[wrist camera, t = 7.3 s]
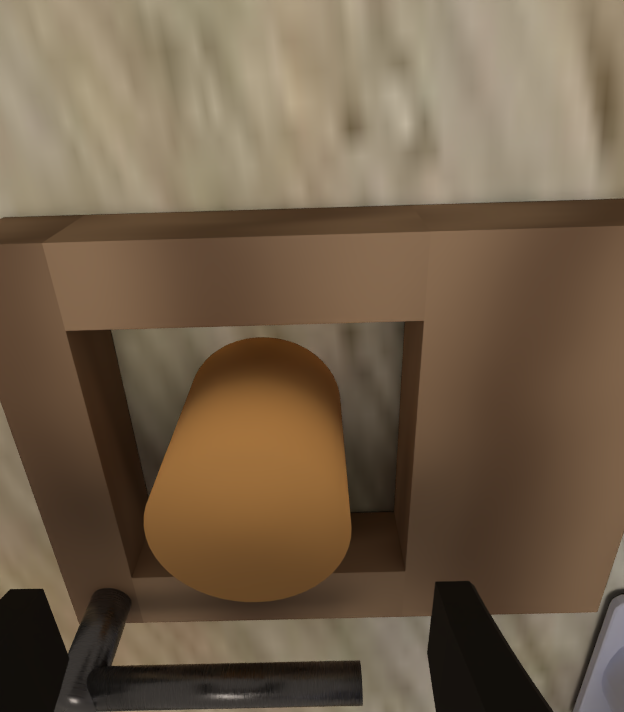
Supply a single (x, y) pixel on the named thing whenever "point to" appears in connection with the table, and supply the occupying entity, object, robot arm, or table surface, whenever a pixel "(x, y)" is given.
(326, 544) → the orange rounded capsule
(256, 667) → the hook
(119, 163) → the table surface
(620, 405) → the brown square frame
